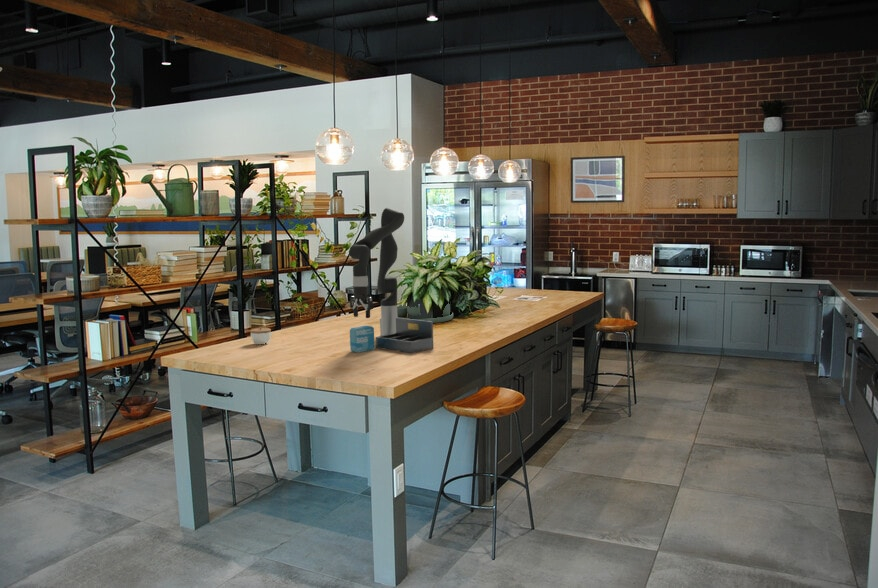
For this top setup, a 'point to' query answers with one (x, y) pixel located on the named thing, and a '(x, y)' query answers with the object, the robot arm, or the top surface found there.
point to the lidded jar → (260, 335)
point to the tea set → (415, 311)
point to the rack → (408, 336)
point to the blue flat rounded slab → (362, 339)
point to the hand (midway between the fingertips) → (361, 317)
